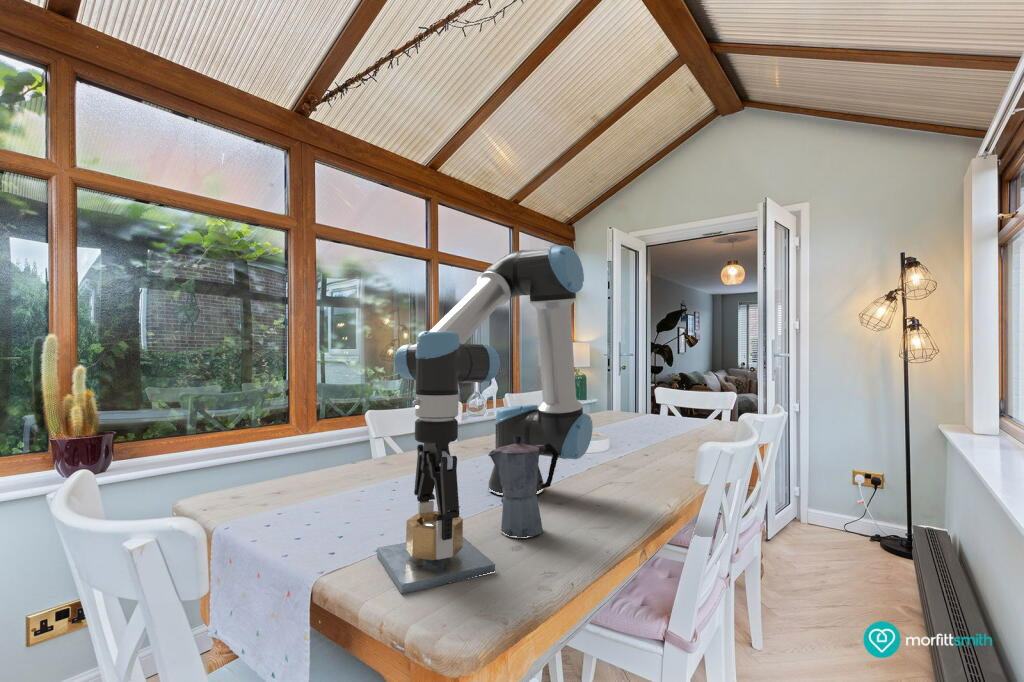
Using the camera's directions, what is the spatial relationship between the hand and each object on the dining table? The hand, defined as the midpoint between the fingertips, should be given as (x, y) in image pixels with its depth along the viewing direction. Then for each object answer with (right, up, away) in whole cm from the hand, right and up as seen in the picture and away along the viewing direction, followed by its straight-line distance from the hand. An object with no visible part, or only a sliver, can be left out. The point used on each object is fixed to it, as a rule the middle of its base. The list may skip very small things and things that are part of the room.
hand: (434, 547), depth 85 cm
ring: (0, 0, 0) cm, 0 cm away
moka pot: (+16, -4, +17) cm, 23 cm away
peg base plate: (0, -3, 0) cm, 3 cm away
